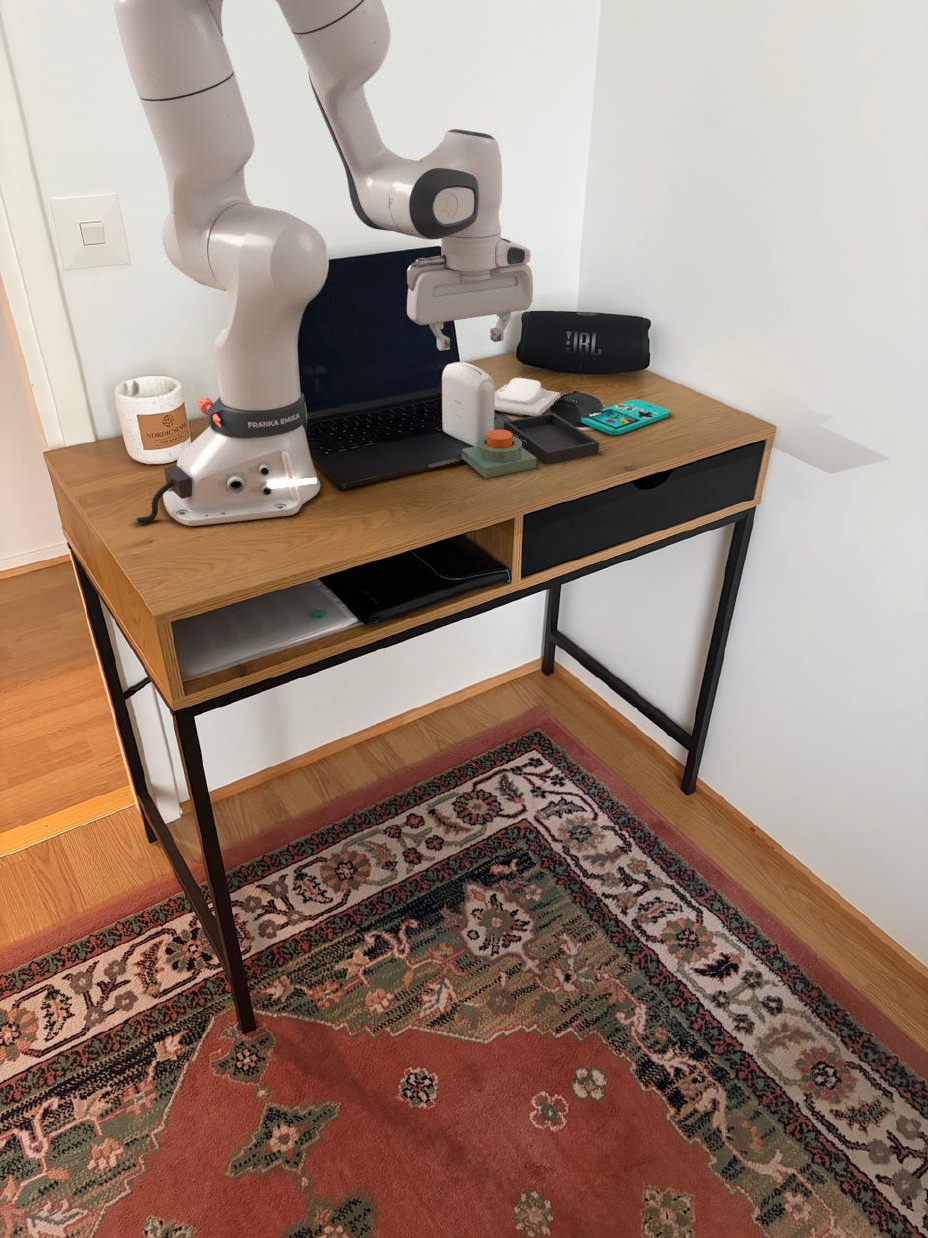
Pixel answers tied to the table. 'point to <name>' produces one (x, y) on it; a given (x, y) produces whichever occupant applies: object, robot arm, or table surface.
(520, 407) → the light switch
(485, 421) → the photo printer
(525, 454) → the button housing
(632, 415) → the handheld gaming console
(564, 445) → the tray
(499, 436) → the button
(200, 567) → the table surface
